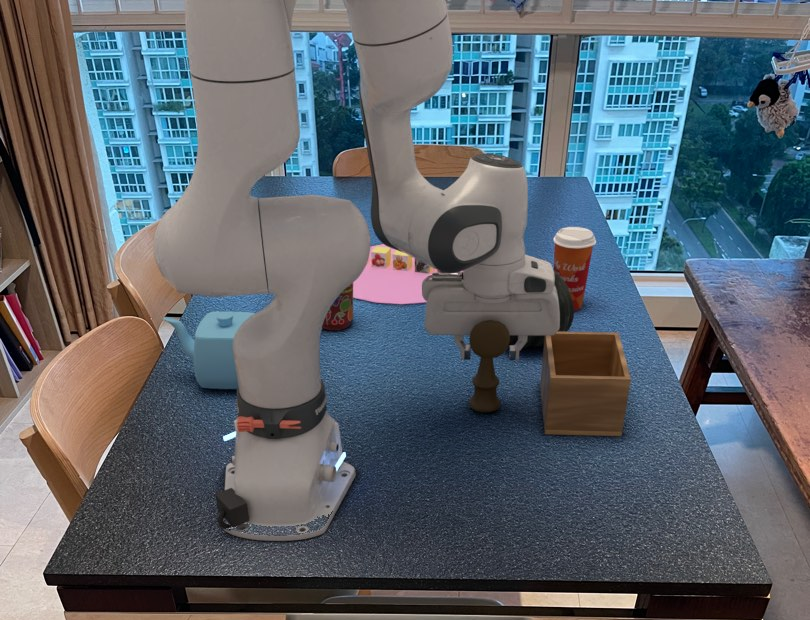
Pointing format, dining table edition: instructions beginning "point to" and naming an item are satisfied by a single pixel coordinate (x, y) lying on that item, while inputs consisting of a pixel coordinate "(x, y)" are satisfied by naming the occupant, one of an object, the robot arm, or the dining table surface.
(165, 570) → the dining table surface
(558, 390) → the caddy
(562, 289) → the squash
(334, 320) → the smoothie
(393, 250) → the platter
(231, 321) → the teapot
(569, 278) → the paper cup
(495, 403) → the kendama
